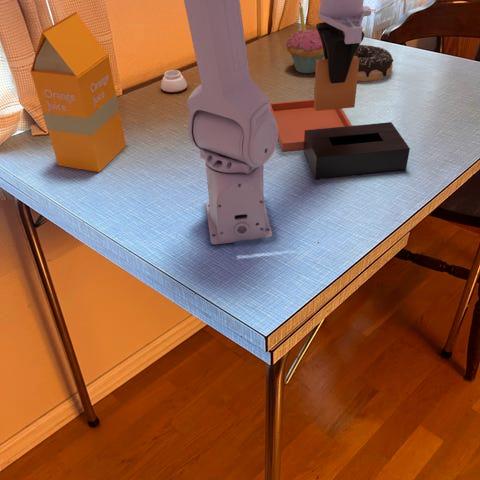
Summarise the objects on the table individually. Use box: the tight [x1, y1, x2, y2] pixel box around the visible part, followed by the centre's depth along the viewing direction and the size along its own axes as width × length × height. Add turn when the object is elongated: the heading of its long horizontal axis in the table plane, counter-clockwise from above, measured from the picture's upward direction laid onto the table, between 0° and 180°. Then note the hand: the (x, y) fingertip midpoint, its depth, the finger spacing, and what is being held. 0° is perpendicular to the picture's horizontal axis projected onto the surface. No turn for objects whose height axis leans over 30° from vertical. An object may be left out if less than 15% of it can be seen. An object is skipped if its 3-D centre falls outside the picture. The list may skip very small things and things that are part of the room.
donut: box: [353, 44, 394, 82], centre depth 109 cm, size 11×12×4 cm
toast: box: [313, 56, 359, 111], centre depth 83 cm, size 1×6×7 cm, turn 96°
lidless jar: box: [160, 69, 188, 93], centre depth 108 cm, size 5×3×5 cm
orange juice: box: [30, 11, 127, 173], centre depth 84 cm, size 8×9×20 cm
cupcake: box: [285, 1, 324, 74], centre depth 109 cm, size 9×8×12 cm
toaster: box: [303, 121, 411, 181], centre depth 84 cm, size 9×14×4 cm, turn 97°
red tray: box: [270, 98, 353, 152], centre depth 94 cm, size 15×12×2 cm
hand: (335, 79), depth 83 cm, fingers closed on toast, 1 cm apart
